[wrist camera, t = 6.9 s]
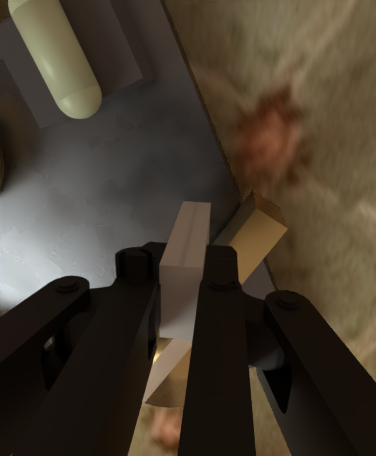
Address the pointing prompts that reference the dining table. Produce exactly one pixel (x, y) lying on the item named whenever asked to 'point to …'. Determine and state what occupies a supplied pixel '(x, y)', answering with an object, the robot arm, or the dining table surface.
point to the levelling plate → (111, 173)
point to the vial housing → (71, 56)
